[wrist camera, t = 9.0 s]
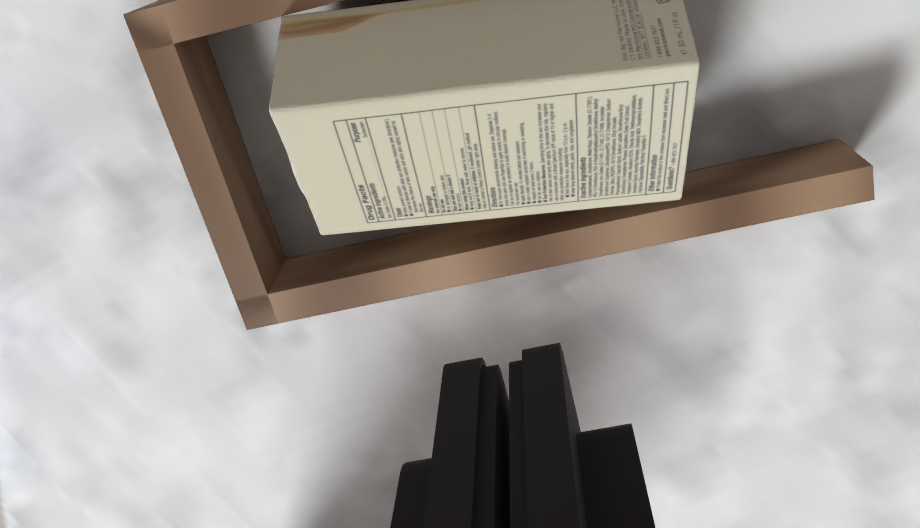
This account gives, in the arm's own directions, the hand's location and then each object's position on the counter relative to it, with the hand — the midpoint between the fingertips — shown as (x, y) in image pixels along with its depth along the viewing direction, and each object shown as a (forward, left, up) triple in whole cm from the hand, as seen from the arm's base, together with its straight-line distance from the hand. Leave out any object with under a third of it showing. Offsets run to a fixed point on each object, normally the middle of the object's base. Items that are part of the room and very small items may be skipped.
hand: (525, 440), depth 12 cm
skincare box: (-6, 0, -17) cm, 18 cm away
